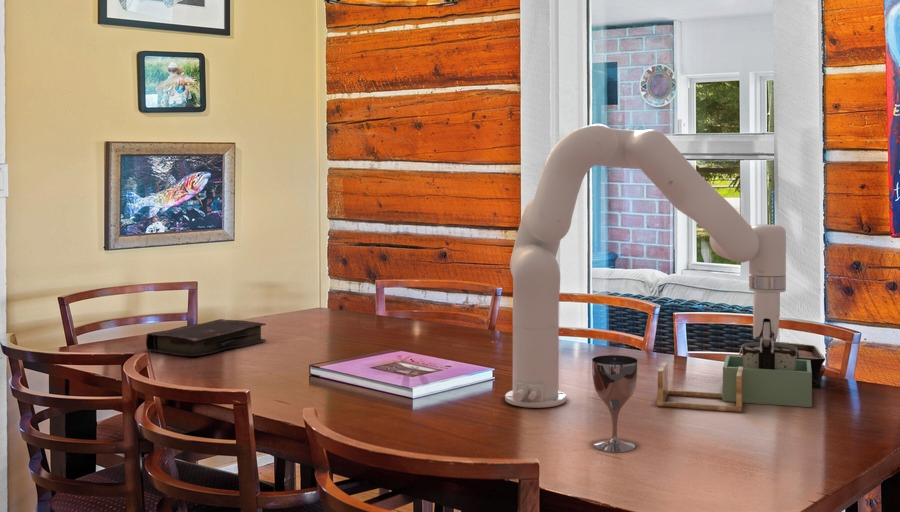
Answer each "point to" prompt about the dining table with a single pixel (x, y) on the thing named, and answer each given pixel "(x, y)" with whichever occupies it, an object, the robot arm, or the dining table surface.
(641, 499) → the dining table surface
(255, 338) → the diary
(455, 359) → the dining table surface
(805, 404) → the tub
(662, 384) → the drying rack
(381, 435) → the dining table surface
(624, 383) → the wine glass
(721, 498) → the dining table surface
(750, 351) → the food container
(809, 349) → the dark brown tapered box
